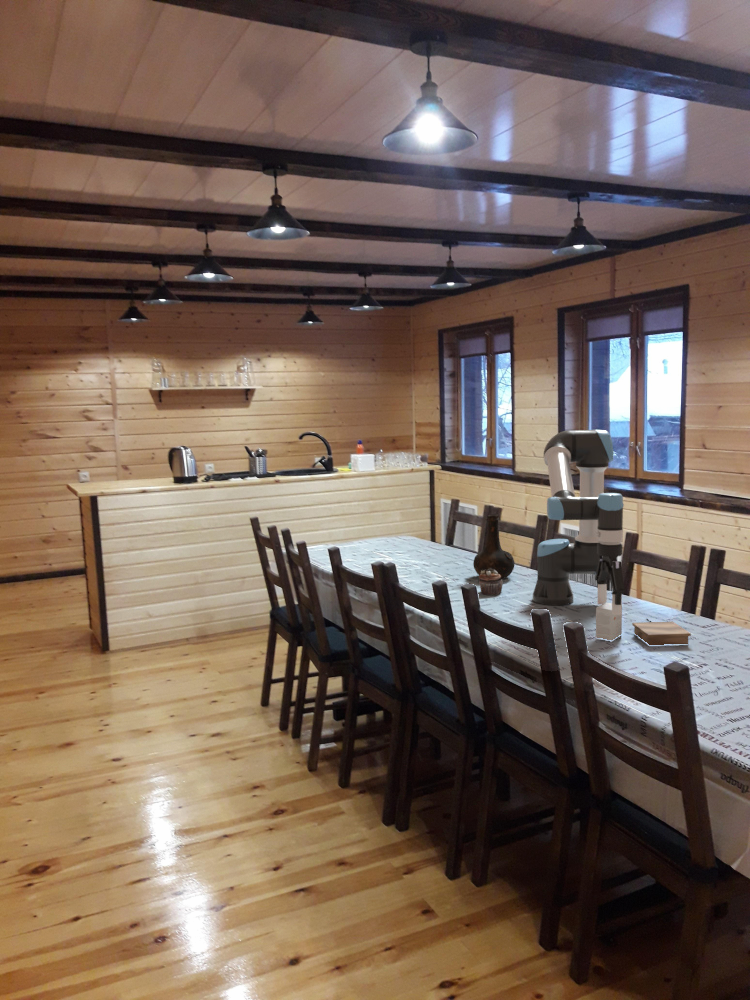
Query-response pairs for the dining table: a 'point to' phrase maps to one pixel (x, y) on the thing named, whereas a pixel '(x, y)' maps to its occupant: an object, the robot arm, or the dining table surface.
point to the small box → (607, 622)
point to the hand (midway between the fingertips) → (609, 609)
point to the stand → (661, 633)
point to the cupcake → (490, 582)
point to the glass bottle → (494, 552)
